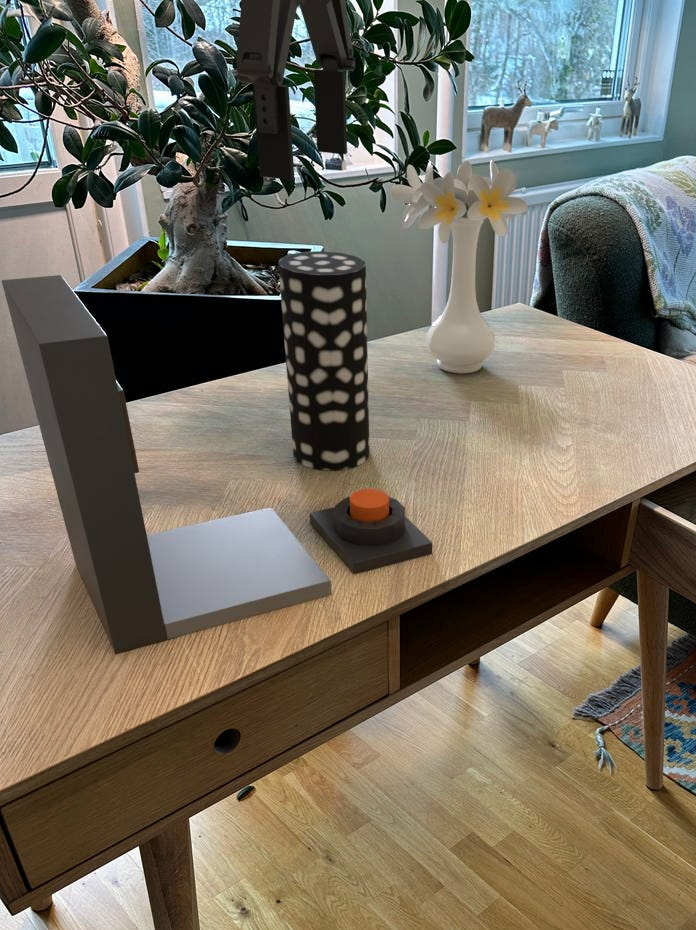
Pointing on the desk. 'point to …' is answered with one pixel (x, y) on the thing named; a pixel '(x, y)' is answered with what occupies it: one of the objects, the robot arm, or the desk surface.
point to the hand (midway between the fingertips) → (306, 164)
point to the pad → (370, 537)
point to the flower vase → (460, 251)
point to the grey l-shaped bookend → (117, 499)
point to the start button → (369, 505)
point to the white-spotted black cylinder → (326, 357)
